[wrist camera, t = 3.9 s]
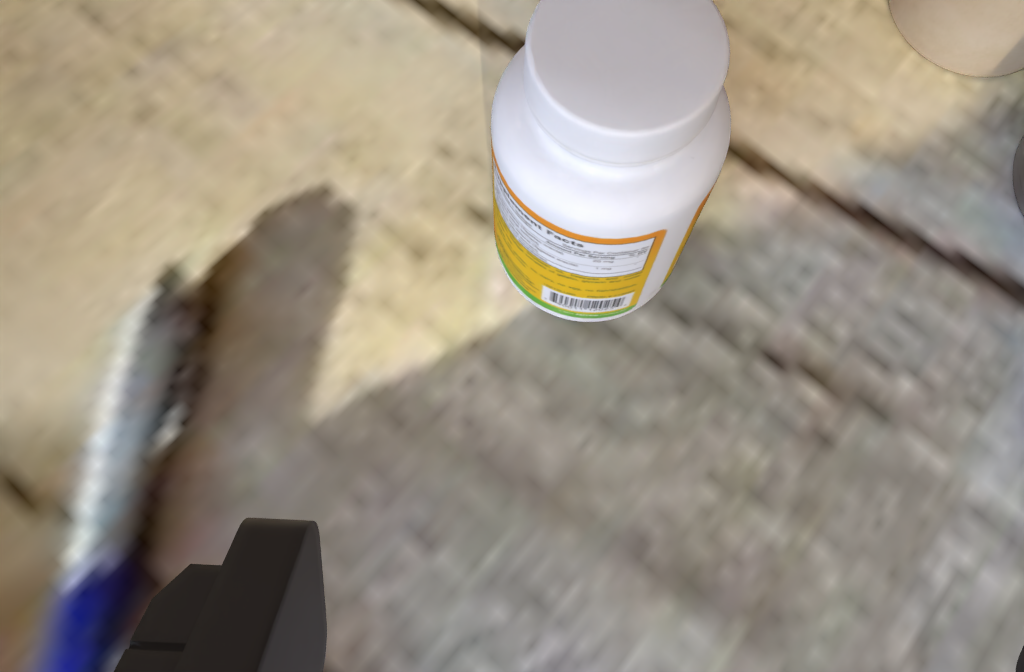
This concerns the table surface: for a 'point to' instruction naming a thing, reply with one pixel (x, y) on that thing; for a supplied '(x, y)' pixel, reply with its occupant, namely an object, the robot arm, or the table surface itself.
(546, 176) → the supplement bottle
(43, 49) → the table surface
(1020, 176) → the navy tin
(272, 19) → the table surface
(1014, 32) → the candle
